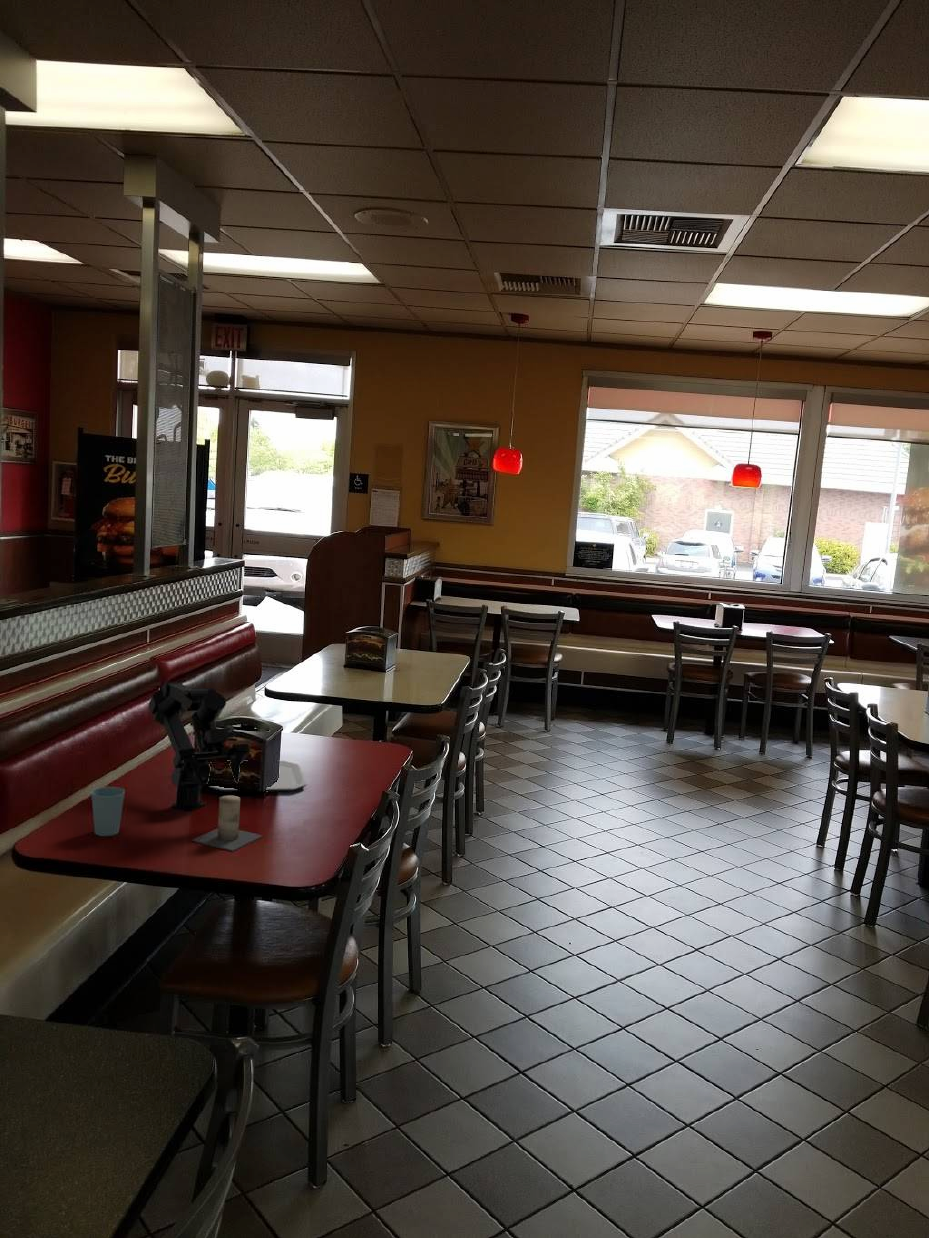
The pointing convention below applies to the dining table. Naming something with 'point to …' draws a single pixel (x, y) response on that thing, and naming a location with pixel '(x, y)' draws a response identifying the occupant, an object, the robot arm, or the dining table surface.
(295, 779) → the plate
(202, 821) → the dining table surface
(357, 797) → the dining table surface
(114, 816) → the cup
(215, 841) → the placemat
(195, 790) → the robot arm
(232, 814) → the beige cylinder
